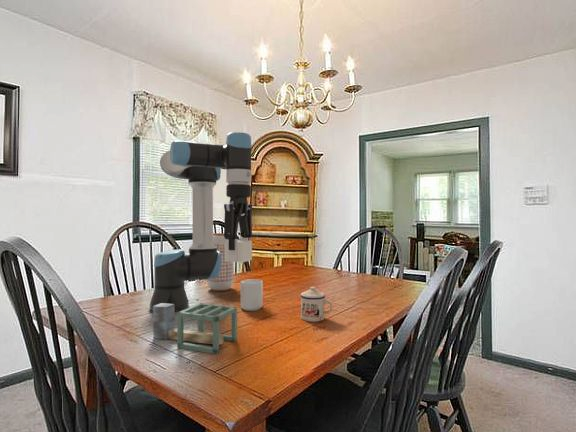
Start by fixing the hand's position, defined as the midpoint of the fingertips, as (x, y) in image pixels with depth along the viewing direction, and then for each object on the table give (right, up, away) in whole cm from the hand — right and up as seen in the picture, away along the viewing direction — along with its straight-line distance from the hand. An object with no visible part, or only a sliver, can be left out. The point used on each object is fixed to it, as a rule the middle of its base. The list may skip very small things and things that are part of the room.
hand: (238, 259), depth 109 cm
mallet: (-15, -25, 0) cm, 29 cm away
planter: (-19, -24, +71) cm, 77 cm away
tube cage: (-9, -25, -3) cm, 27 cm away
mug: (+1, -25, +38) cm, 45 cm away
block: (0, 0, 0) cm, 0 cm away
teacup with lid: (+26, -25, +22) cm, 42 cm away
